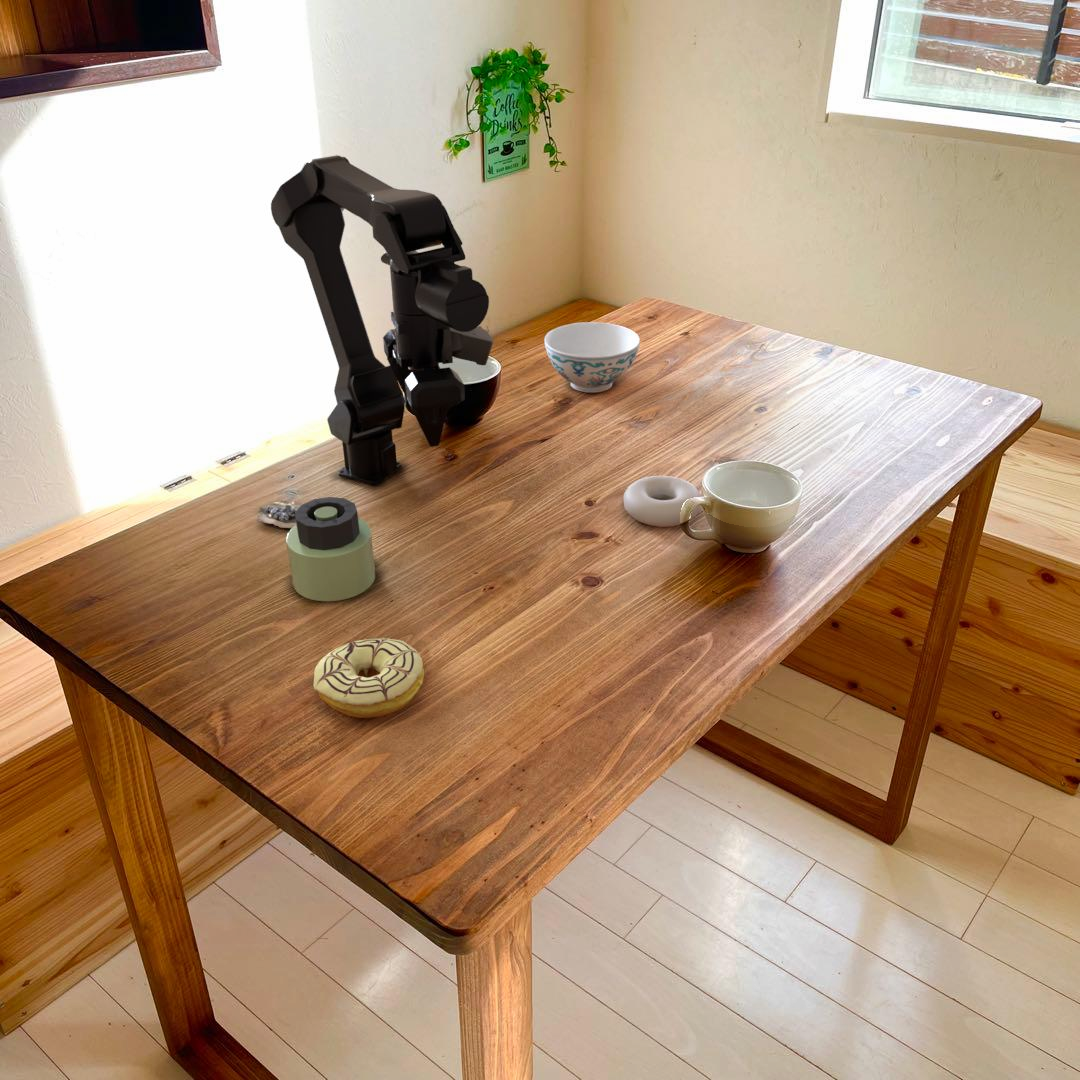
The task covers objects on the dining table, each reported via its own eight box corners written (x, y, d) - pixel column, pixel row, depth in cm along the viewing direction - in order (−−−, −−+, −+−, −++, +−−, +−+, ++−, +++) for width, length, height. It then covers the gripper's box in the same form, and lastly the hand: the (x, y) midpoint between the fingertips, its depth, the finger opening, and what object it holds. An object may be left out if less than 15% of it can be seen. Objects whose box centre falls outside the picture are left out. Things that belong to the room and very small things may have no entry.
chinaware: (641, 403, 171) (643, 356, 167) (544, 403, 171) (543, 357, 167) (635, 366, 184) (636, 321, 180) (545, 366, 184) (544, 322, 180)
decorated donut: (347, 651, 117) (343, 622, 115) (440, 670, 114) (438, 640, 112) (298, 711, 109) (293, 681, 107) (397, 734, 106) (394, 703, 104)
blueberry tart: (263, 504, 145) (261, 491, 144) (324, 503, 145) (322, 490, 144) (252, 530, 139) (250, 517, 138) (316, 529, 139) (314, 516, 138)
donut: (617, 528, 139) (697, 535, 137) (618, 504, 137) (699, 510, 135) (628, 491, 147) (703, 496, 145) (628, 468, 145) (705, 473, 143)
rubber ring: (289, 546, 124) (285, 523, 123) (313, 516, 130) (310, 494, 128) (345, 553, 123) (343, 529, 121) (367, 522, 128) (365, 500, 127)
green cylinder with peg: (275, 588, 128) (264, 521, 123) (326, 549, 135) (318, 484, 130) (342, 610, 124) (334, 541, 119) (391, 569, 131) (385, 502, 126)
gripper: (506, 326, 122) (509, 453, 130) (466, 276, 137) (471, 392, 145) (407, 338, 119) (417, 466, 127) (377, 285, 135) (388, 403, 143)
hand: (426, 429), depth 136 cm, fingers open, 9 cm apart
